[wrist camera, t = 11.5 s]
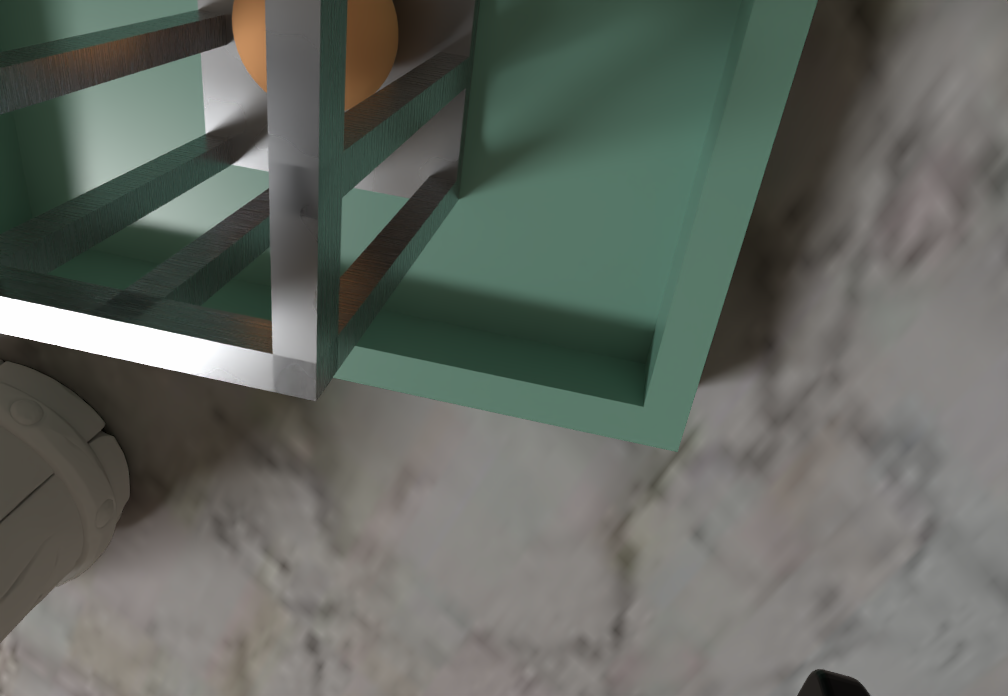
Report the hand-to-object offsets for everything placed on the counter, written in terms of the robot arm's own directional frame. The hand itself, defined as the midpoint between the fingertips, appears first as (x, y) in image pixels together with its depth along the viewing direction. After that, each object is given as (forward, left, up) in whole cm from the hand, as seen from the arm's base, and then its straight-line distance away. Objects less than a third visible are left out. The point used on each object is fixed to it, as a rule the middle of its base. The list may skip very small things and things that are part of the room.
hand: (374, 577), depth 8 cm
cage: (+5, -3, -11) cm, 12 cm away
